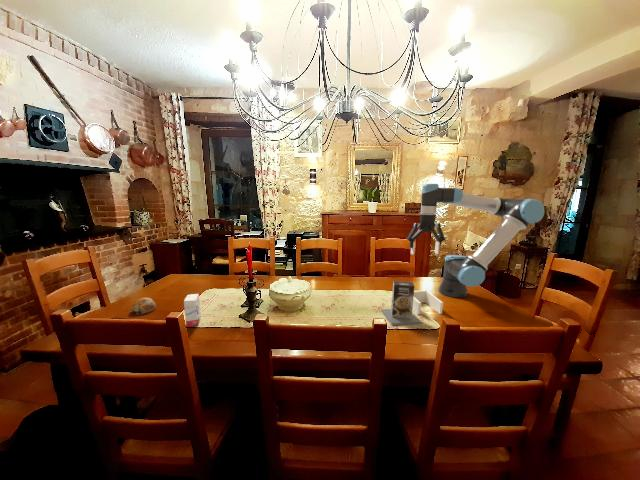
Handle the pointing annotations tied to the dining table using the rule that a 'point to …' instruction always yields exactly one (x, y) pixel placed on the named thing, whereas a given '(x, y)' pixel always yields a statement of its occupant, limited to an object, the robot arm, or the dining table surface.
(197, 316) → the ink box
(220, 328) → the dining table surface
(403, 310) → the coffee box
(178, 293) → the dining table surface
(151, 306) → the grey brown rock
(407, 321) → the slate pad
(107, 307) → the dining table surface
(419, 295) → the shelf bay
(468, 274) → the robot arm
